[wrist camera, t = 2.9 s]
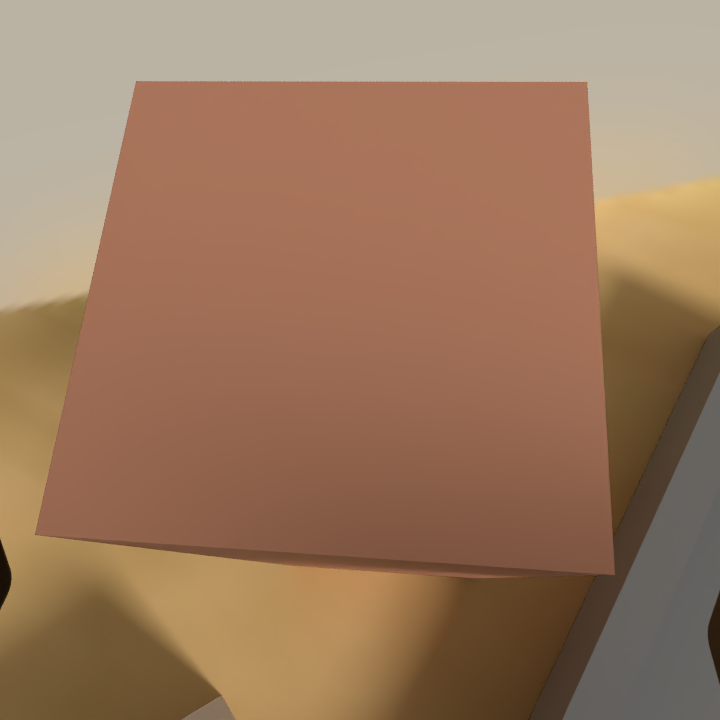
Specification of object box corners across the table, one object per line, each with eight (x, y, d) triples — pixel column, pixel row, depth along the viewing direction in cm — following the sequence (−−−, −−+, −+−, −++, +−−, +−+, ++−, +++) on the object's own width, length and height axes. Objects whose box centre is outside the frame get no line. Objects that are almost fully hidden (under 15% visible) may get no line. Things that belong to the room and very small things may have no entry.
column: (472, 578, 17) (614, 575, 5) (287, 565, 17) (35, 534, 6) (474, 397, 19) (587, 82, 7) (305, 389, 19) (136, 82, 7)
